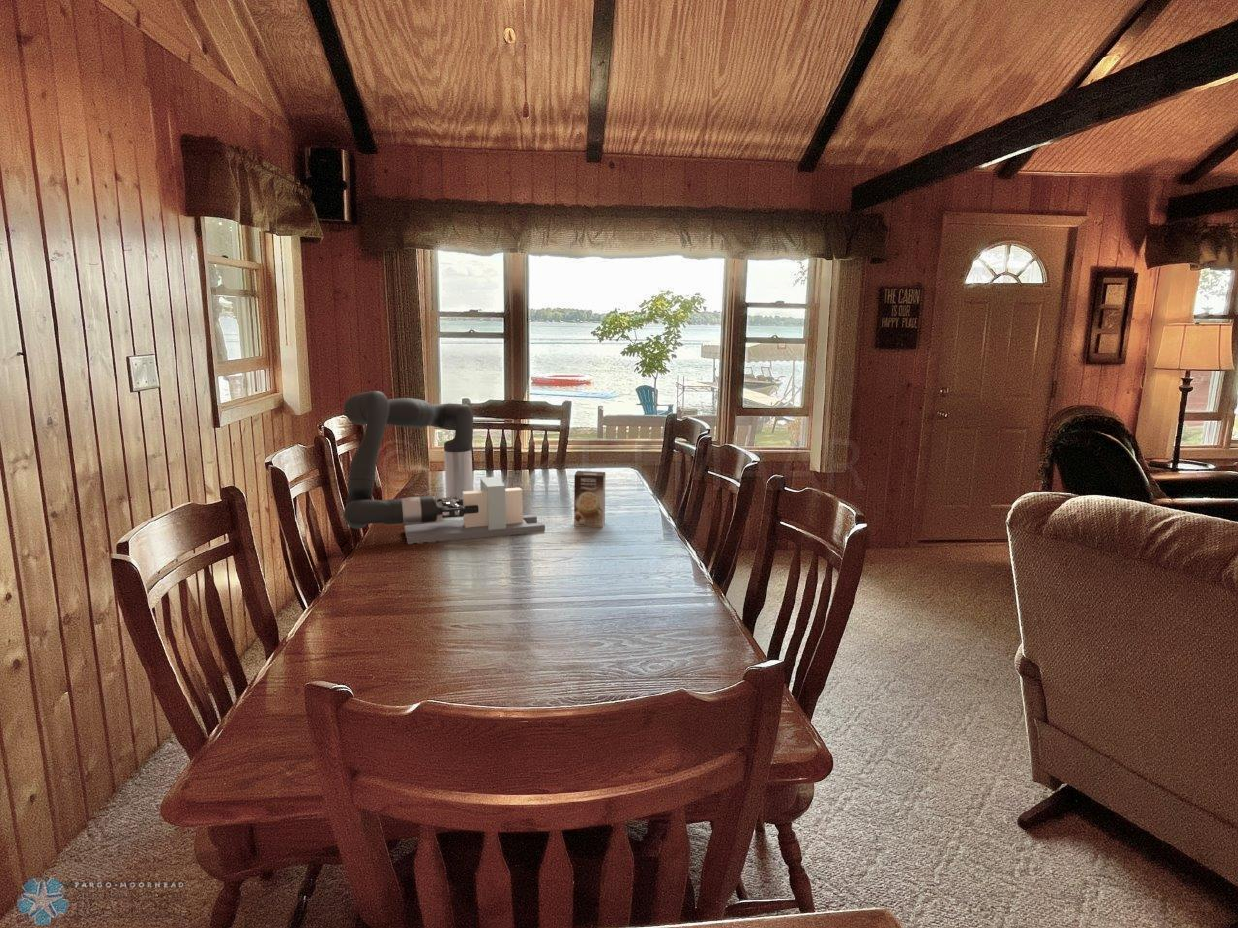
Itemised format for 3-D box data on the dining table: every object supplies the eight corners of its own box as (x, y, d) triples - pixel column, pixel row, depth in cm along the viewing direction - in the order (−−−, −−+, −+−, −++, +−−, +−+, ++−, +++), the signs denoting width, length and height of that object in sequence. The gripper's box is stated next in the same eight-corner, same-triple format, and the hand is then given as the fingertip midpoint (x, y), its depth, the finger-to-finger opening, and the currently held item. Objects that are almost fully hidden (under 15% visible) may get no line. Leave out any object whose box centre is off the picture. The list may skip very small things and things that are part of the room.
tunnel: (481, 518, 220) (480, 478, 217) (497, 517, 222) (496, 476, 219) (488, 529, 208) (487, 486, 206) (506, 528, 210) (505, 485, 208)
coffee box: (573, 526, 220) (572, 474, 217) (576, 521, 226) (576, 470, 223) (603, 527, 219) (603, 475, 216) (605, 521, 225) (605, 471, 222)
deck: (404, 531, 213) (404, 525, 212) (534, 520, 226) (534, 514, 226) (408, 544, 201) (407, 537, 200) (544, 531, 214) (544, 525, 214)
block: (463, 524, 214) (462, 491, 212) (520, 519, 219) (519, 487, 218) (465, 527, 210) (464, 494, 209) (522, 522, 216) (522, 489, 214)
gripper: (420, 502, 199) (479, 498, 205) (416, 491, 213) (471, 487, 218) (421, 529, 201) (480, 523, 206) (417, 516, 214) (472, 511, 219)
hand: (475, 505), depth 212 cm, fingers open, 8 cm apart
